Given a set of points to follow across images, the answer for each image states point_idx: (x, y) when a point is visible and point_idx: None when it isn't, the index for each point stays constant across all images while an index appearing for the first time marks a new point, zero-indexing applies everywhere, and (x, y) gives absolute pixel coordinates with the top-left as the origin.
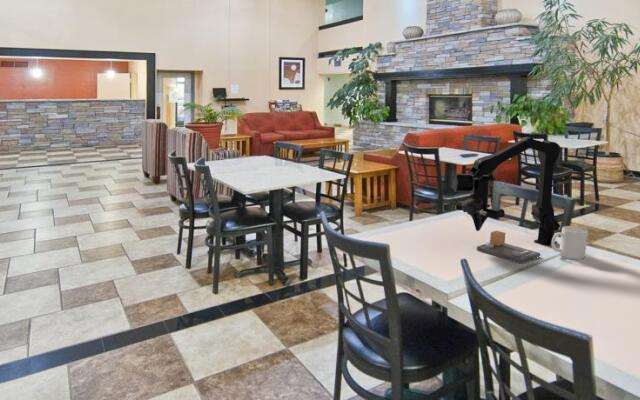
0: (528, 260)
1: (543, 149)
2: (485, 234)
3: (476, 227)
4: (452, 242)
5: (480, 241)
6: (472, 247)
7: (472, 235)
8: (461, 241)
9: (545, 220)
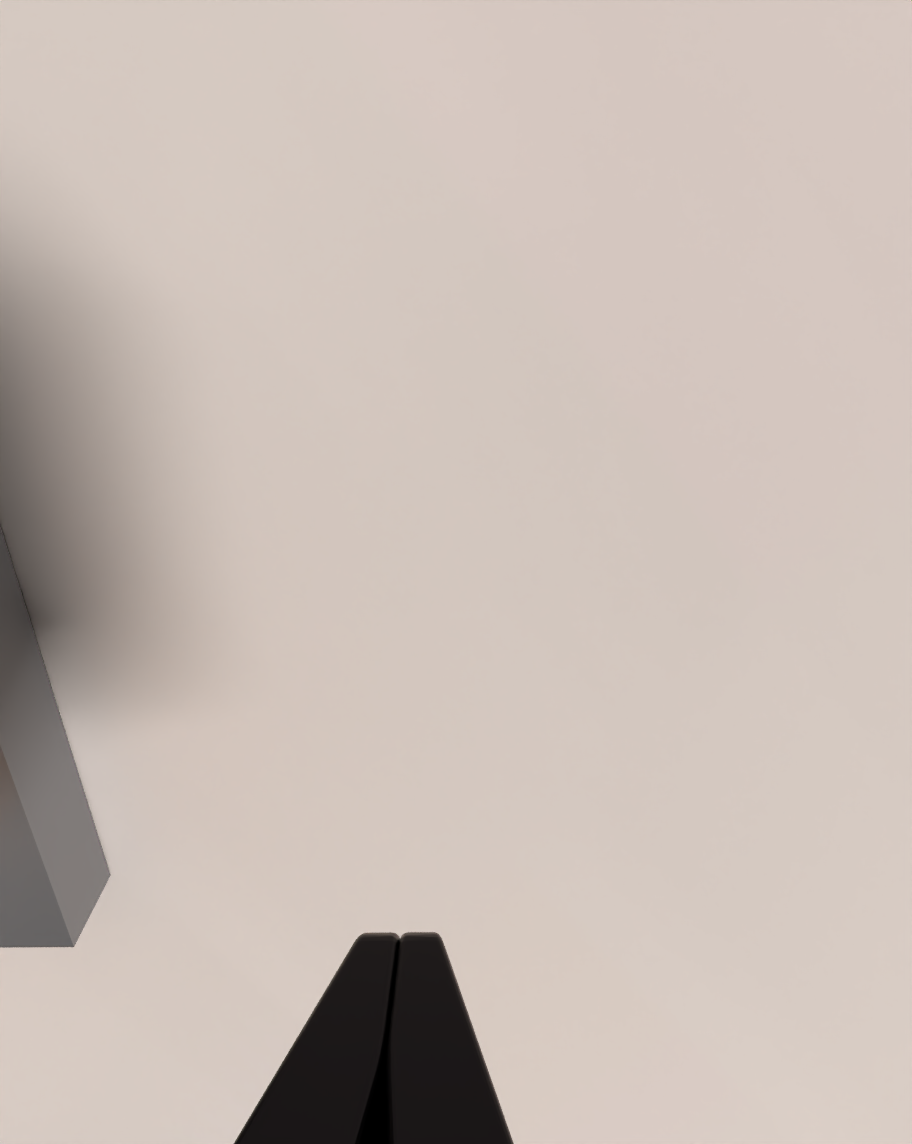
0: None
1: None
2: (657, 1132)
3: (400, 1041)
4: (890, 99)
5: (429, 799)
6: (162, 241)
7: (799, 964)
8: (734, 444)
9: None
